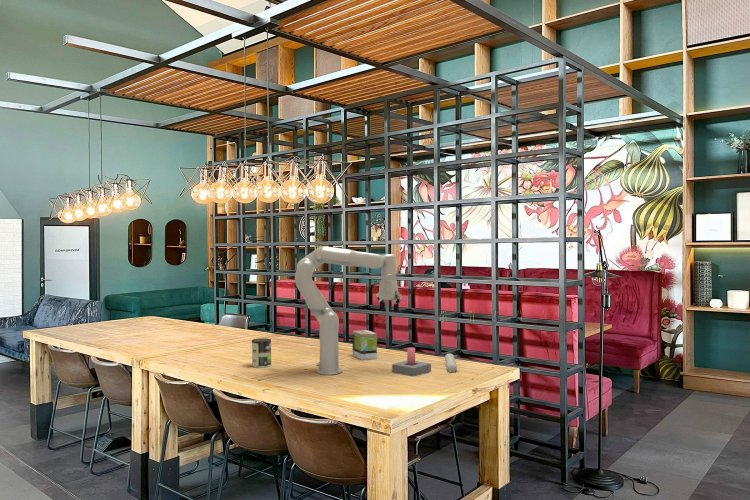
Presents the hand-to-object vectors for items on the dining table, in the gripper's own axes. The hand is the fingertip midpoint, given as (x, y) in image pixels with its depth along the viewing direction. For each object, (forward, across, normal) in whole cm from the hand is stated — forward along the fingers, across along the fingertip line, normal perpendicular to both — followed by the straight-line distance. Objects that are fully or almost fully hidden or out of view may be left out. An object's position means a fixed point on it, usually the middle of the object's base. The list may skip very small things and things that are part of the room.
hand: (389, 310), depth 300 cm
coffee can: (+31, -58, -39) cm, 76 cm away
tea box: (+31, -31, +13) cm, 45 cm away
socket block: (+30, +13, +2) cm, 33 cm away
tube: (+31, +22, +23) cm, 44 cm away
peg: (+30, +13, +2) cm, 33 cm away
